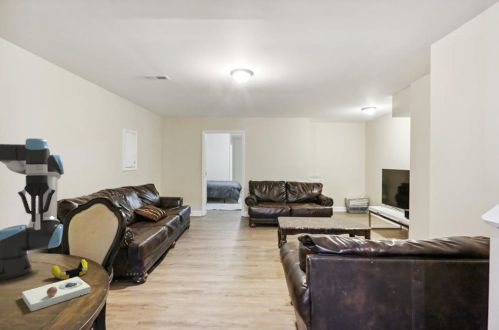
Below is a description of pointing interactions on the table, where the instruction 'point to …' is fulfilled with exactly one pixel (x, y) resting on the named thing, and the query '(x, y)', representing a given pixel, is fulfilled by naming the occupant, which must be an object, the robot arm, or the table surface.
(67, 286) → the ball
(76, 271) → the gaming controller
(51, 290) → the wood ball
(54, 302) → the plate
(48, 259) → the table surface
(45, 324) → the table surface
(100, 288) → the table surface
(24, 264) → the robot arm
